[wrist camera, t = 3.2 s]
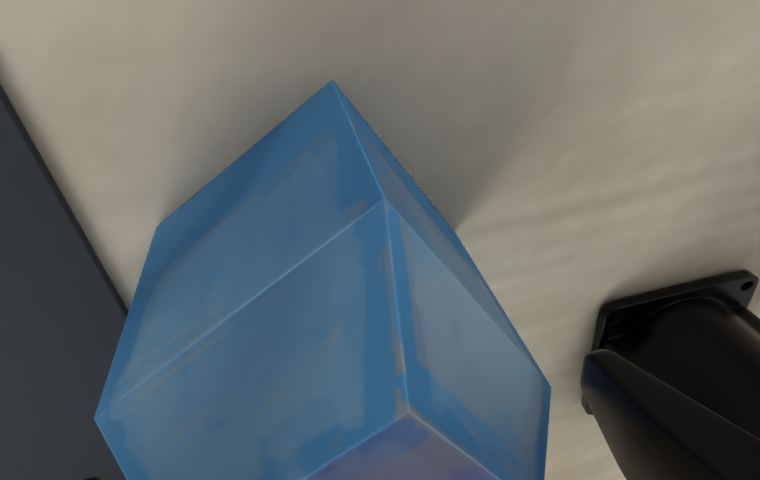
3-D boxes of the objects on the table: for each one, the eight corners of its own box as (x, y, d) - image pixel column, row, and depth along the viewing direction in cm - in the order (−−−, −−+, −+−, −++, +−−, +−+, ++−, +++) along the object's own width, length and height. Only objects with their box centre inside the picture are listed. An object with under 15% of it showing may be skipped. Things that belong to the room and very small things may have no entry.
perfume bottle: (156, 227, 13) (-132, 1103, 3) (332, 80, 12) (646, 780, 2) (306, 339, 17) (376, 943, 7) (455, 233, 15) (796, 780, 6)
